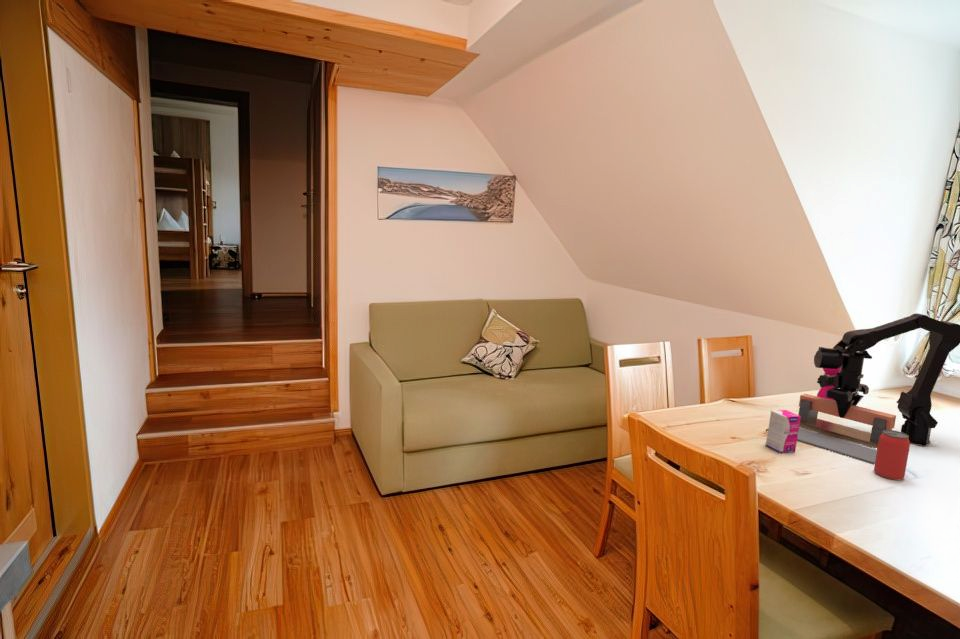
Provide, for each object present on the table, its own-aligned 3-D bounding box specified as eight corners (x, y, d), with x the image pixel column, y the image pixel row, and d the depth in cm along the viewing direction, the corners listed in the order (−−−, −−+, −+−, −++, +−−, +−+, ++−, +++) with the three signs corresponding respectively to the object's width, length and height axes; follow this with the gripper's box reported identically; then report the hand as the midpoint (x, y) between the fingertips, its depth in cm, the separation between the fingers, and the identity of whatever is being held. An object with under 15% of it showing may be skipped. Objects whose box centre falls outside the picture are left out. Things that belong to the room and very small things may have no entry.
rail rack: (898, 445, 166) (902, 417, 164) (887, 451, 160) (892, 423, 158) (802, 418, 188) (805, 394, 186) (789, 423, 182) (792, 398, 180)
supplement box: (780, 453, 155) (785, 416, 153) (764, 446, 161) (769, 410, 159) (796, 452, 157) (801, 415, 155) (780, 444, 162) (785, 409, 160)
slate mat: (887, 455, 157) (888, 453, 157) (873, 464, 150) (873, 462, 150) (782, 424, 181) (782, 422, 181) (765, 431, 174) (765, 429, 174)
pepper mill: (841, 412, 196) (849, 360, 193) (819, 411, 197) (827, 359, 194) (832, 407, 203) (840, 356, 200) (812, 405, 204) (819, 354, 201)
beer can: (874, 467, 148) (881, 427, 146) (904, 475, 144) (911, 433, 142) (872, 475, 143) (879, 433, 141) (903, 483, 138) (911, 440, 137)
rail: (894, 427, 164) (896, 415, 163) (889, 430, 161) (891, 417, 161) (803, 404, 184) (805, 393, 184) (798, 406, 182) (800, 395, 181)
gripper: (834, 361, 182) (828, 405, 185) (811, 368, 171) (805, 414, 174) (872, 369, 173) (865, 414, 176) (851, 376, 162) (843, 424, 165)
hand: (843, 416), depth 173 cm, fingers closed on rail, 4 cm apart
